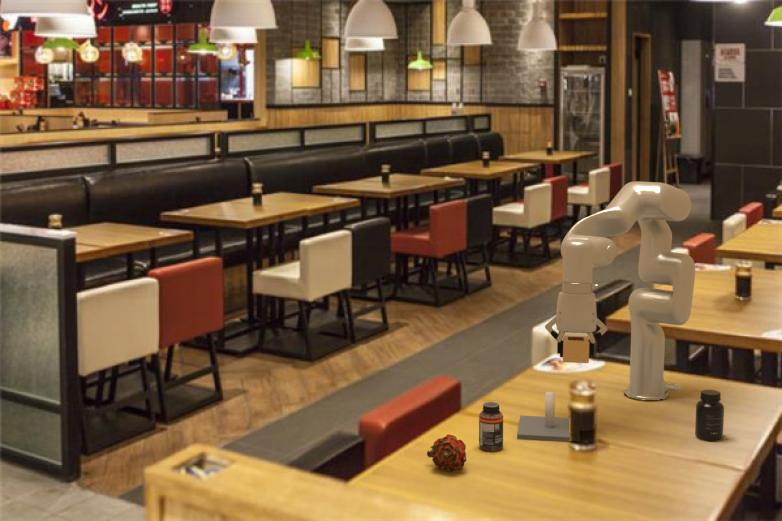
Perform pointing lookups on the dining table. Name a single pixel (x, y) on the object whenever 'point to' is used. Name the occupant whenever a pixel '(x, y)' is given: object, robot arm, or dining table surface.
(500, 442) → the supplement bottle
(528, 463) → the dining table surface
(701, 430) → the supplement bottle
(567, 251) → the robot arm
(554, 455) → the dining table surface
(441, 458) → the dragon fruit
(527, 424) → the shaft block
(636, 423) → the dining table surface
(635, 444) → the dining table surface
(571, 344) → the collar
